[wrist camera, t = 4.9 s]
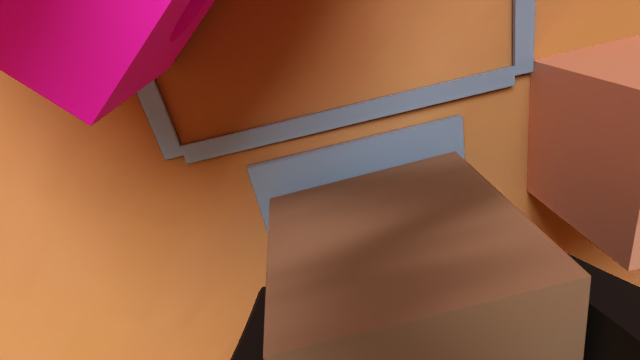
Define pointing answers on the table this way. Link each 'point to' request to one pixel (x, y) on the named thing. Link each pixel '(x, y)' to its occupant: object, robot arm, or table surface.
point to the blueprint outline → (356, 153)
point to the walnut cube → (417, 272)
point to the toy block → (93, 47)
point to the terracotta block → (589, 143)
